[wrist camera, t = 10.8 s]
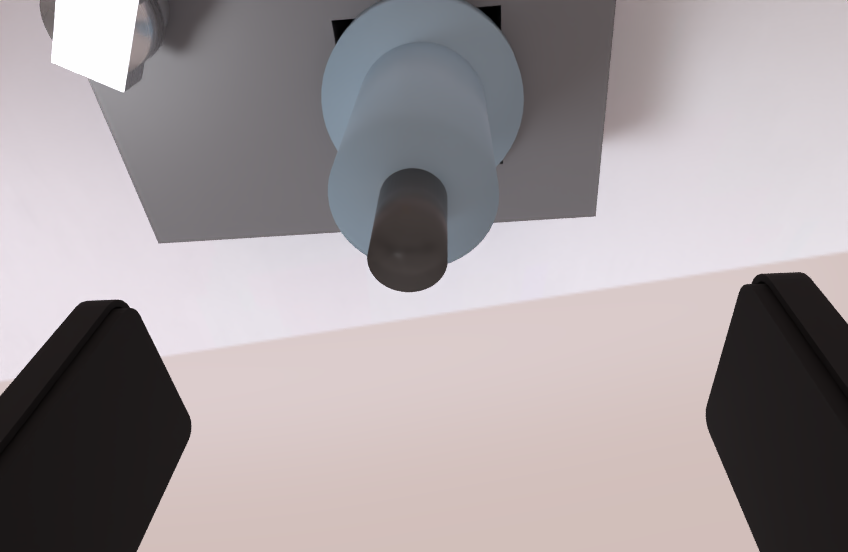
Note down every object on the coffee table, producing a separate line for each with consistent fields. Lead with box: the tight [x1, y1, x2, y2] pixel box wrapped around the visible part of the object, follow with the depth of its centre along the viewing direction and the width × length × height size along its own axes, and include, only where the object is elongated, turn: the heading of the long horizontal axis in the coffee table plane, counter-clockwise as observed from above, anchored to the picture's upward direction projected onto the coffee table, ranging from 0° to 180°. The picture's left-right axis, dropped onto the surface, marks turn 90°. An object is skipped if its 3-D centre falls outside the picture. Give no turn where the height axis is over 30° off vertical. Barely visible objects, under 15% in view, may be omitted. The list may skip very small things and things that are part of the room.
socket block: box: [88, 0, 616, 243], centre depth 21 cm, size 17×10×7 cm, turn 95°
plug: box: [321, 0, 524, 292], centre depth 17 cm, size 6×6×14 cm
